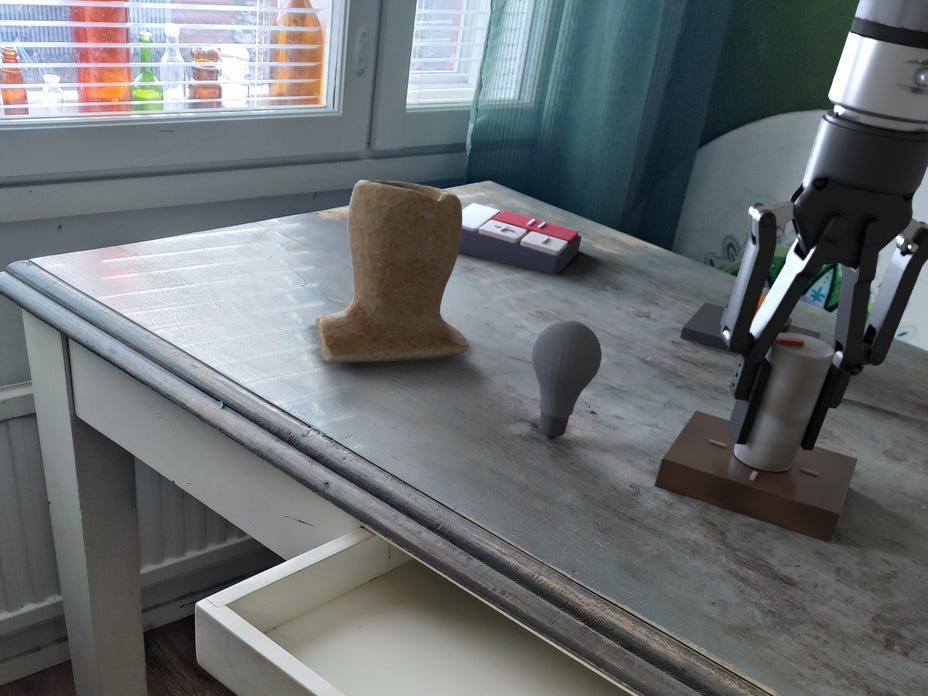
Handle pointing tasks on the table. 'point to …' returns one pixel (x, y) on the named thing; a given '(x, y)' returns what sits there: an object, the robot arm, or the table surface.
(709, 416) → the dial panel
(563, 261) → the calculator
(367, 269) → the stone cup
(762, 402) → the dial
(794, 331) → the button block
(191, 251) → the table surface
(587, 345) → the light bulb
